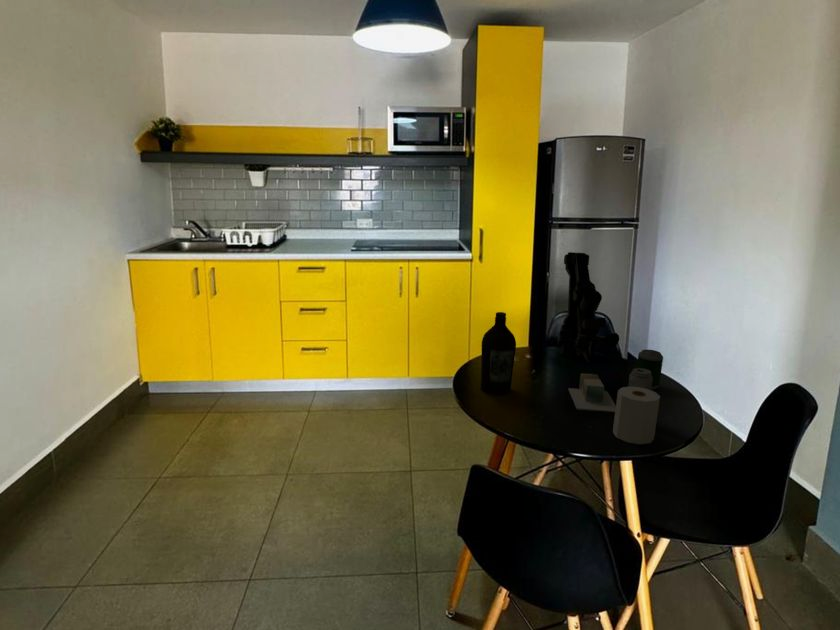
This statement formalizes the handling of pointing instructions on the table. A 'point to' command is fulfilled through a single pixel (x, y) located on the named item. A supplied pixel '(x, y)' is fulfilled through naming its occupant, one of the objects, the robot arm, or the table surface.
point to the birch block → (591, 387)
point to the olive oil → (497, 357)
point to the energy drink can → (641, 378)
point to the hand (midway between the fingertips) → (589, 362)
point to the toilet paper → (636, 415)
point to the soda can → (651, 364)
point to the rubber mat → (593, 406)
